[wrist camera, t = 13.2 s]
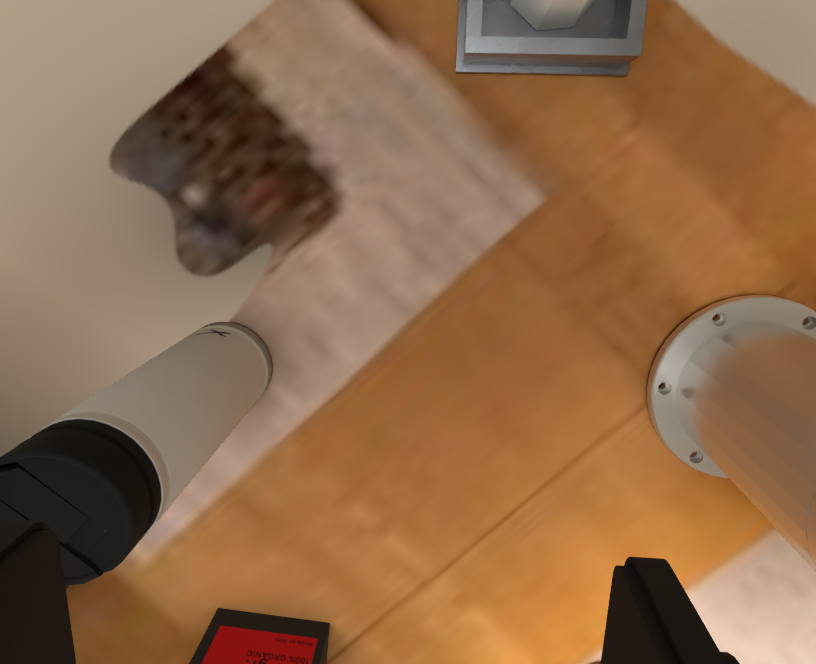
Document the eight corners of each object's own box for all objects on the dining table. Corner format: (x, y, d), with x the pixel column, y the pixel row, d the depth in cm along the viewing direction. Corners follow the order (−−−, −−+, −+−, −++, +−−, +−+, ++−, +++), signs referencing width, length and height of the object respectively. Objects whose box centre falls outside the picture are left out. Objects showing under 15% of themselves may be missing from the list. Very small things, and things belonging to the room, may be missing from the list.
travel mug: (218, 298, 40) (9, 414, 21) (291, 364, 41) (155, 532, 22) (163, 361, 42) (-81, 523, 22) (234, 423, 42) (60, 630, 23)
